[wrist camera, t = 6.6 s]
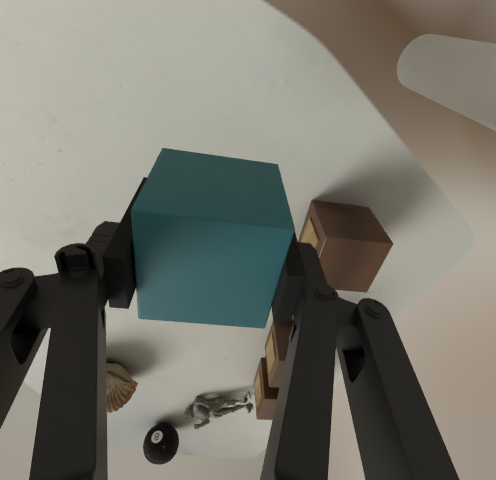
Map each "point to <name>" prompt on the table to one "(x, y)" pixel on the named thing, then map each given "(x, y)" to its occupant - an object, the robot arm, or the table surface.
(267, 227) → the teal block
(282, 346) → the walnut block
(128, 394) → the seashell
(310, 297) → the robot arm
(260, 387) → the walnut block
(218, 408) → the figurine
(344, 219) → the walnut block
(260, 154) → the table surface
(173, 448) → the billiard ball
